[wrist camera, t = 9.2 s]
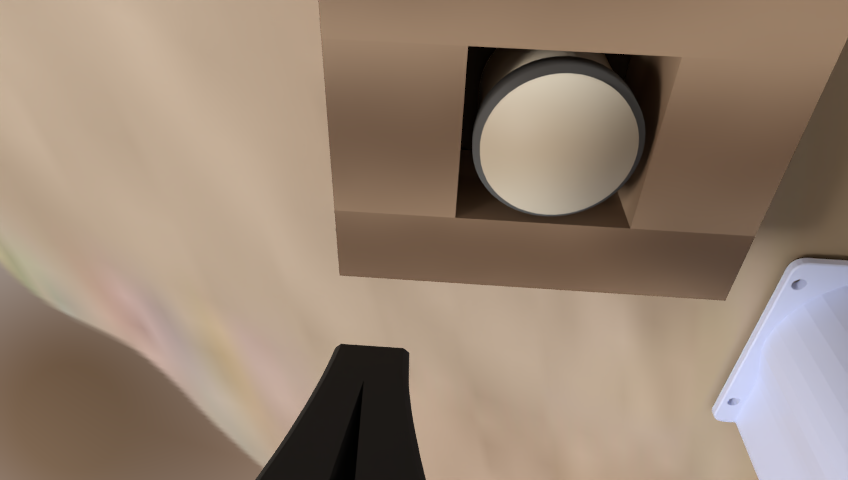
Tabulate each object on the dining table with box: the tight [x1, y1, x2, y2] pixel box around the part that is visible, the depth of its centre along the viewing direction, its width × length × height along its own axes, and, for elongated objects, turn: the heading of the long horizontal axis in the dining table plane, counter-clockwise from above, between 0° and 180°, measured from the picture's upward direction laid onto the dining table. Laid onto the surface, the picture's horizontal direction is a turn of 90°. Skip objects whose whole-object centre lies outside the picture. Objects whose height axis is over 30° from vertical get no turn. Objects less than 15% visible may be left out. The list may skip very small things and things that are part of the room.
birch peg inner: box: [472, 48, 645, 216], centre depth 17 cm, size 4×4×4 cm
